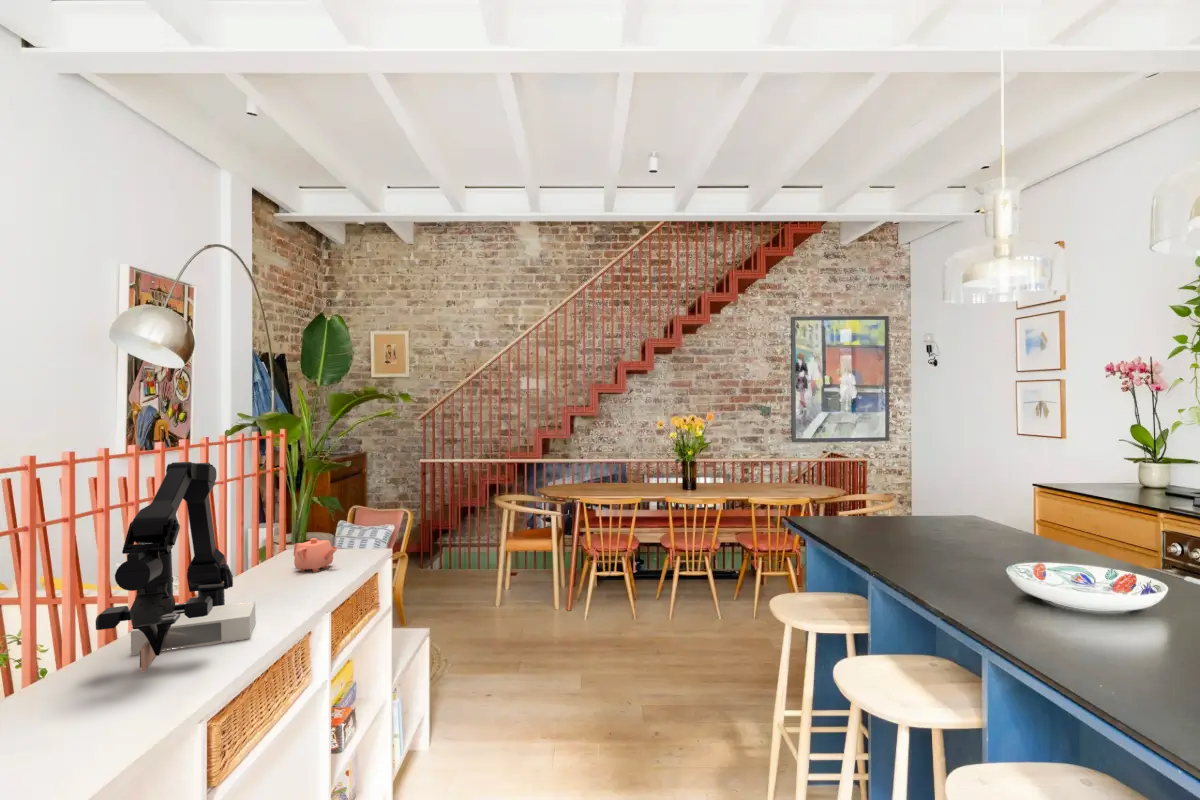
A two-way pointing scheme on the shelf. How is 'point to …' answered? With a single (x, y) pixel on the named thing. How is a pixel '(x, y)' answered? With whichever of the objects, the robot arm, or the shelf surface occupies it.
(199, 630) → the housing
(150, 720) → the shelf surface
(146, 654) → the side door
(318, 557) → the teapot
